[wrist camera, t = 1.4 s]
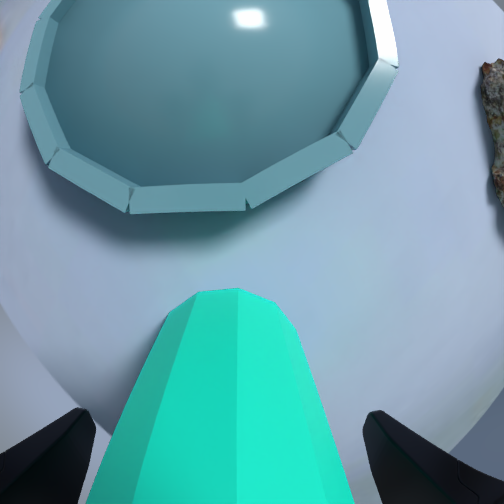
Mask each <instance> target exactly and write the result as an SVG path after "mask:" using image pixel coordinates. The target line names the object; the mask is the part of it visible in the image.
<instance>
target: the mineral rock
mask: <svg viewBox="0 0 504 504" xmlns="http://www.w3.org/2000/svg"><path fill="white" fill-rule="evenodd" d="M482 71H483V75H484V80H483V84H482V85H481V94H482V100H483V106H484V109H485V112H486V115H487V122H488V124H489V127H490V129H491V131H492V136H493V141H494V145H495V161H494V164H493V166H492V168H491V170H492V174H493V177H494V185H495V187H496V194H497V196H498V197H499V200H500V201H501V203H502V205H503V207H504V61H503V60H502V59H499V58H498V59H497V61H496V62H495V63H491V64H489V63H486V62H484V64H483V65H482Z"/></svg>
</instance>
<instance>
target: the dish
mask: <svg viewBox="0 0 504 504" xmlns="http://www.w3.org/2000/svg"><path fill="white" fill-rule="evenodd" d="M39 19H40V20H38V21H36V24H35V27H34V31H33V34H32V37H31V41H30V45H29V48H28V52H27V56H26V61H25V65H24V70H23V75H22V80H21V86H20V93H22V94H21V95H20V99H21V102H22V106H23V109H24V111H25V114H26V117H27V120H28V123H29V126H30V128H31V131H32V134H33V136H34V139H35V141H36V144H37V146H38V149H39V151H40V153H41V156H42V158H43V160H44V163H45V165H49V167H48V168H49V169H51V170H52V171H54V172H56V173H57V174H59V175H61V176H62V177H64V178H66V179H67V180H69V181H71V182H72V183H74V184H76V185H77V186H79V187H81V188H82V189H84V190H86V191H87V192H89V193H91V194H93V195H94V196H96V197H98V198H99V199H101V200H103V201H105V202H106V203H108V204H110V205H111V206H113V207H115V208H117V209H118V210H120V211H122V212H124V213H126V212H129V211H130V214H146V213H170V212H203V211H246V204H248V203H249V205H250V206H251V208H252V209H253V208H255V207H256V206H258V205H260V204H262V203H263V202H265V201H267V200H269V199H270V198H272V197H274V196H276V195H277V194H279V193H281V192H283V191H284V190H286V189H288V188H290V187H292V186H293V185H295V184H297V183H300V182H301V181H303V180H305V179H306V178H308V177H310V176H311V175H313V174H315V173H317V172H319V171H321V170H322V169H324V168H326V167H328V166H330V165H332V164H334V163H335V162H337V161H339V160H341V159H343V158H345V157H347V156H349V155H351V154H352V153H353V152H352V150H356V149H357V148H358V147H359V145H360V143H361V141H362V139H363V137H364V136H365V134H366V132H367V130H368V128H369V126H370V125H371V123H372V121H373V119H374V117H375V115H376V113H377V112H378V110H379V108H380V106H381V104H382V102H383V100H384V98H385V96H386V95H387V93H388V91H389V89H390V87H391V85H392V83H393V81H394V79H395V77H396V75H397V73H398V70H396V69H397V68H398V67H399V63H398V56H397V50H396V44H395V39H394V34H393V29H392V24H391V19H390V15H389V11H388V7H387V3H386V0H51V1H50V3H49V4H48V5H47V7H46V8H45V9H44V11H43V12H42V13H41V15H40V16H39Z"/></svg>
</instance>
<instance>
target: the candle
mask: <svg viewBox="0 0 504 504" xmlns="http://www.w3.org/2000/svg"><path fill="white" fill-rule="evenodd" d="M86 504H355V503H354V500H353V497H352V494H351V491H350V488H349V485H348V481H347V478H346V475H345V472H344V469H343V466H342V463H341V460H340V457H339V454H338V451H337V448H336V445H335V442H334V439H333V436H332V433H331V430H330V427H329V424H328V421H327V418H326V415H325V412H324V409H323V406H322V403H321V400H320V397H319V394H318V391H317V388H316V385H315V383H314V380H313V377H312V374H311V371H310V368H309V365H308V362H307V359H306V357H305V354H304V351H303V348H302V345H301V342H300V339H299V337H298V334H297V331H296V329H295V327H294V326H293V325H292V324H291V322H290V321H289V320H288V319H287V317H286V316H285V315H284V313H283V312H282V311H281V310H280V308H279V307H278V306H277V304H276V303H275V302H273V301H270V300H267V299H265V298H262V297H260V296H257V295H255V294H252V293H250V292H247V291H245V290H242V289H240V288H233V289H223V290H213V291H203V292H198V293H196V294H195V295H193V296H192V297H190V298H189V299H188V300H186V301H185V302H183V303H182V304H181V305H179V306H178V307H176V308H175V309H174V310H172V311H171V312H169V314H168V316H167V318H166V320H165V322H164V324H163V326H162V328H161V330H160V332H159V335H158V337H157V339H156V341H155V343H154V345H153V347H152V349H151V351H150V353H149V355H148V357H147V359H146V362H145V364H144V366H143V368H142V370H141V372H140V374H139V377H138V379H137V381H136V383H135V385H134V387H133V390H132V392H131V394H130V396H129V398H128V401H127V403H126V405H125V407H124V410H123V412H122V414H121V417H120V419H119V421H118V424H117V426H116V428H115V431H114V433H113V435H112V438H111V440H110V442H109V445H108V447H107V450H106V452H105V455H104V457H103V460H102V462H101V465H100V467H99V470H98V472H97V475H96V477H95V480H94V483H93V485H92V488H91V490H90V493H89V496H88V499H87V501H86Z"/></svg>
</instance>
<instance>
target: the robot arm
mask: <svg viewBox="0 0 504 504" xmlns="http://www.w3.org/2000/svg"><path fill="white" fill-rule="evenodd" d="M95 433H96V426H95V423H94V421H93V419H92V417H91V415H90V413H89V411H88V410H86V409H83V408H78V407H77V408H75V409H73V410H71V411H70V412H68V413H67V414H65V415H64V416H62V417H60V418H59V419H57V420H55V421H54V422H52V423H51V424H49V425H47V426H46V427H44V428H43V429H41V430H39V431H38V432H36V433H35V434H33V435H31V436H30V437H28V438H26V439H25V440H23V441H21V442H20V443H18V444H16V445H15V446H13V447H11V448H10V449H8V450H6V452H3V453H1V454H0V504H78V500H79V497H80V493H81V490H82V486H83V482H84V480H85V477H86V473H87V470H88V466H89V462H90V458H91V452H92V447H93V443H94V438H95ZM363 437H364V442H365V446H366V451H367V455H368V460H369V464H370V468H371V472H372V475H373V478H374V481H375V483H376V486H377V489H378V492H379V495H380V498H381V501H382V503H383V504H504V481H502V480H499V479H497V478H494V477H492V476H489V475H487V474H484V473H482V472H480V471H478V470H476V469H474V468H472V467H470V466H468V465H467V464H465V463H463V462H462V461H460V460H457V459H456V458H455V457H453V456H451V455H450V454H448V453H447V452H445V451H443V450H442V449H440V448H438V447H437V446H435V445H434V444H432V443H431V442H429V441H427V440H426V439H424V438H423V437H421V436H420V435H418V434H417V433H415V432H413V431H412V430H410V429H409V428H407V427H406V426H404V425H403V424H401V423H400V422H398V421H397V420H395V419H394V418H392V417H391V416H389V415H388V414H387V413H385V412H384V411H382V410H377V411H372V412H370V413H369V414H368V415H367V418H366V421H365V424H364V426H363Z"/></svg>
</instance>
